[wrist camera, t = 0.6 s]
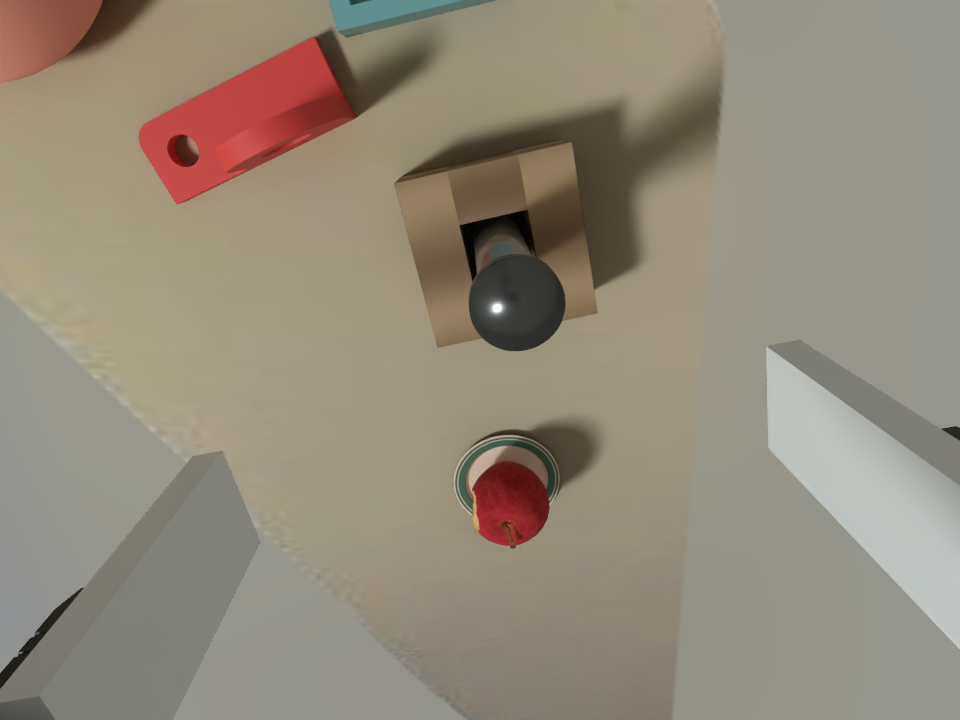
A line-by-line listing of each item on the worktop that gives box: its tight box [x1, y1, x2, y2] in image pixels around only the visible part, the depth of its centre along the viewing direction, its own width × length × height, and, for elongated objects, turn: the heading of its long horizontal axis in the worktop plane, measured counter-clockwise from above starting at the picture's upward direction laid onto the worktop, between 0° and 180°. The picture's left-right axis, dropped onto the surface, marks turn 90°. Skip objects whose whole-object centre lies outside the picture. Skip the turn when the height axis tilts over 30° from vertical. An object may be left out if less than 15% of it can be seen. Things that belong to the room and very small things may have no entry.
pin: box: [469, 215, 566, 351], centre depth 31 cm, size 4×4×15 cm
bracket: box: [139, 37, 356, 204], centre depth 31 cm, size 12×4×8 cm, turn 114°
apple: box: [454, 435, 560, 548], centre depth 42 cm, size 8×8×6 cm
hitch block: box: [394, 140, 597, 348], centre depth 36 cm, size 10×10×4 cm
